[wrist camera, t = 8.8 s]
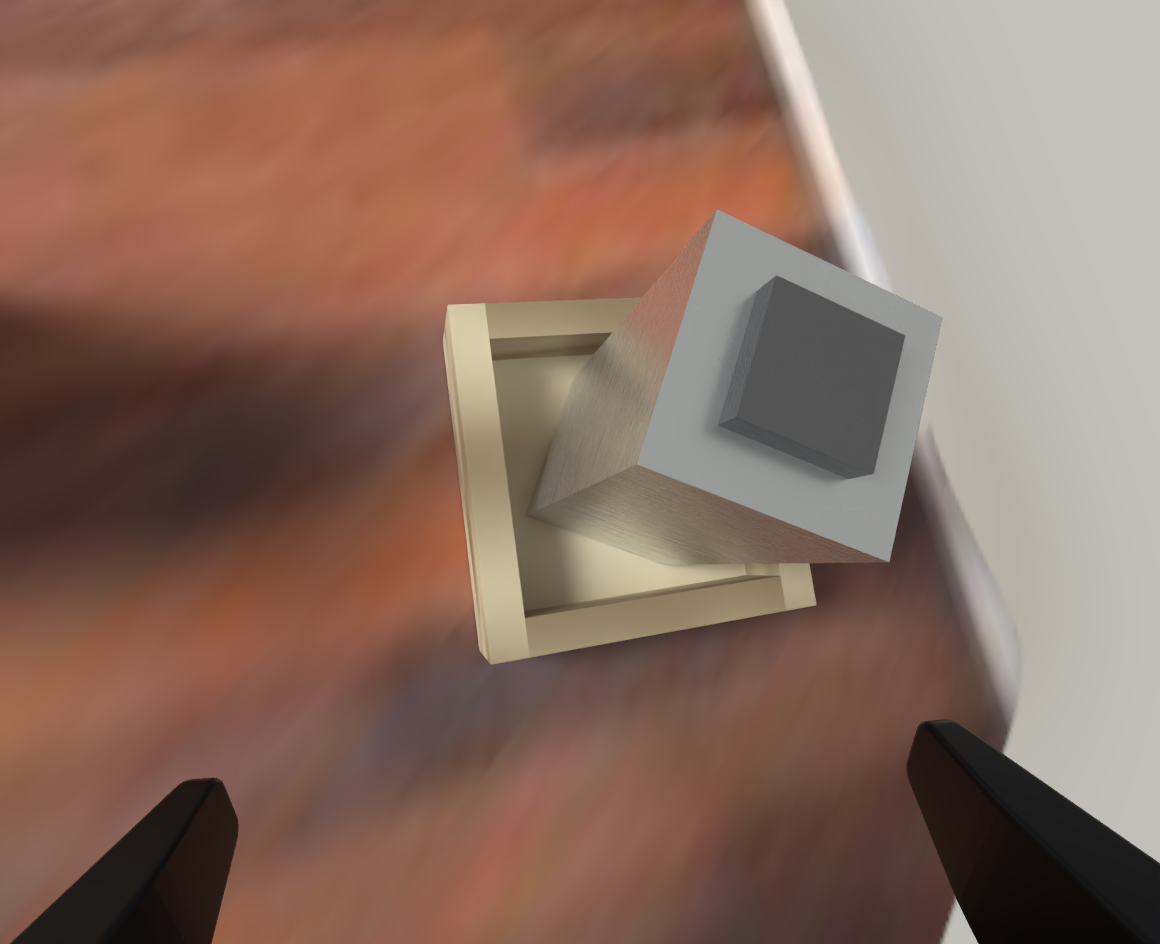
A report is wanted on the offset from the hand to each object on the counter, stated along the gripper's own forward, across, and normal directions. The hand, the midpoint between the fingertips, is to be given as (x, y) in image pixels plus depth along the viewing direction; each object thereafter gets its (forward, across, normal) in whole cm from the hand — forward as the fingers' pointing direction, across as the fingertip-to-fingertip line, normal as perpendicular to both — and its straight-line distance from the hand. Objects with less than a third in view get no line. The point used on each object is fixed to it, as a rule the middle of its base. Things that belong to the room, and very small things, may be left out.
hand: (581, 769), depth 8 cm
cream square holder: (+13, -2, +2) cm, 13 cm away
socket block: (+12, -2, +2) cm, 12 cm away
